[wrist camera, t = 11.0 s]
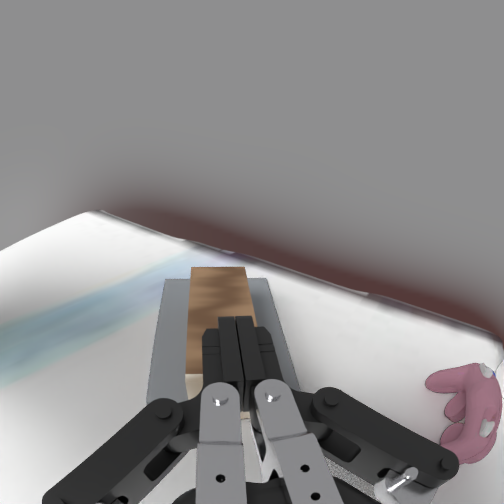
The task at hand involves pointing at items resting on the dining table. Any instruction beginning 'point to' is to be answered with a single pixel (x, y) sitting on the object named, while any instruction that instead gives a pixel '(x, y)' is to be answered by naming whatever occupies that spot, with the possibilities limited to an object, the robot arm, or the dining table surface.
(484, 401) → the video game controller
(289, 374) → the rubber mat
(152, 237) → the dining table surface
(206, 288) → the walnut block
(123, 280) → the dining table surface
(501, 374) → the spray bottle
